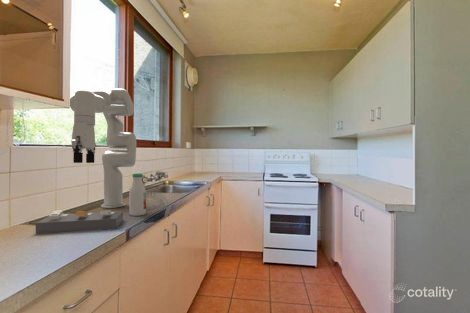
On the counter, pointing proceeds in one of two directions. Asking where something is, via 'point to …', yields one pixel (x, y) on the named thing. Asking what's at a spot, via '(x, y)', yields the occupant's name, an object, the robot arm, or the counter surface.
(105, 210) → the white rocker
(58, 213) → the white rocker
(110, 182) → the robot arm
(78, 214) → the amber rocker
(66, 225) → the power strip
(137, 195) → the milk bottle
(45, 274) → the counter surface
